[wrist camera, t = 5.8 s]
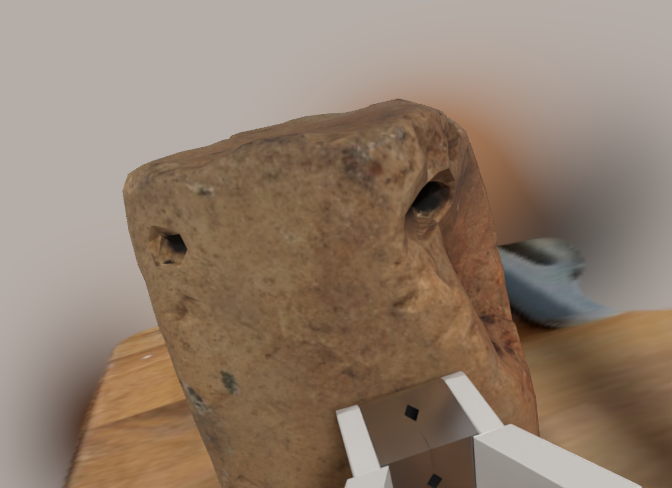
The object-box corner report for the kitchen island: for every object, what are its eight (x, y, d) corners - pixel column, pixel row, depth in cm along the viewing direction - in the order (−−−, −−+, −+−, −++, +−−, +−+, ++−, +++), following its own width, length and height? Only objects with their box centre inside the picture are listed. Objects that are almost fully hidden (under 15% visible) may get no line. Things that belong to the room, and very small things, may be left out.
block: (264, 630, 17) (47, 177, 9) (317, 469, 24) (216, 121, 16) (547, 708, 14) (587, 100, 6) (518, 496, 20) (519, 70, 12)
